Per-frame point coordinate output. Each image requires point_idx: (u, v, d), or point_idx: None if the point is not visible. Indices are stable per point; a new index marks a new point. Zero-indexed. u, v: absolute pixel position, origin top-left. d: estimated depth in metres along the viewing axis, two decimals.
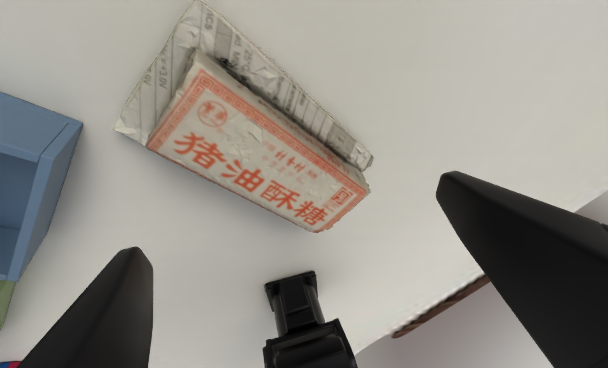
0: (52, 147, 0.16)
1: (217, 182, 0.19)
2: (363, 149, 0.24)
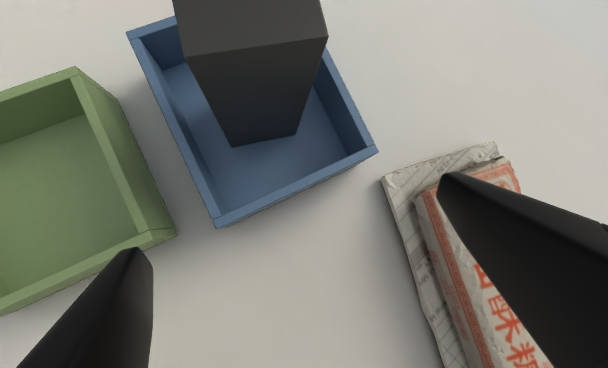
0: None
1: (456, 258, 0.19)
2: None
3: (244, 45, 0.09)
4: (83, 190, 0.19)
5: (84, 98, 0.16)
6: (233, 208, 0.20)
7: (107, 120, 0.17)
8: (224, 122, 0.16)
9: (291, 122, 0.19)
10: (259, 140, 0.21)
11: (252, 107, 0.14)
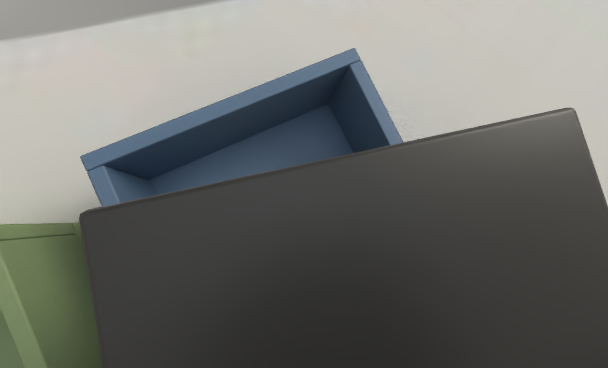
0: None
1: None
2: None
3: None
4: None
5: (1, 286, 0.09)
6: None
7: (49, 305, 0.10)
8: None
9: None
10: None
11: None
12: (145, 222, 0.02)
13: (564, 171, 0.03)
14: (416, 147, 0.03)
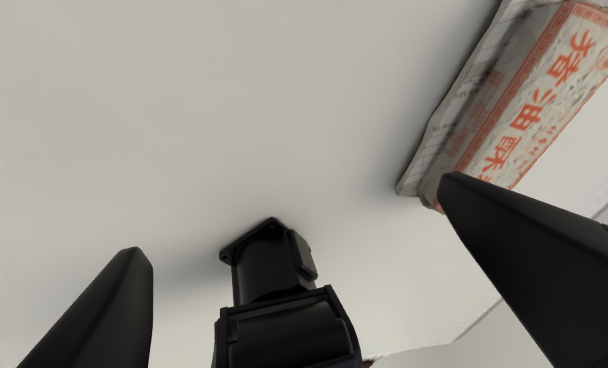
0: None
1: (520, 89, 0.18)
2: None
3: None
4: None
5: None
6: None
7: None
8: None
9: None
10: None
11: None
12: None
13: None
14: None
